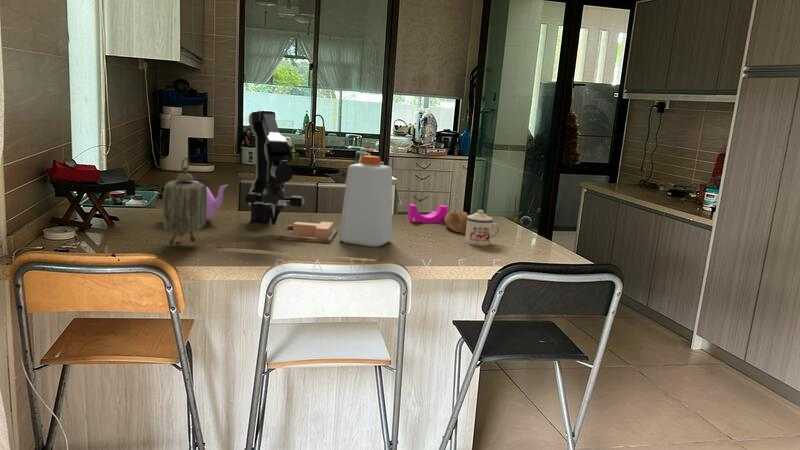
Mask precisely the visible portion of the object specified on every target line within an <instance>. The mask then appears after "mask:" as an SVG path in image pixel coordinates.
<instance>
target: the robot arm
mask: <svg viewBox="0 0 800 450" xmlns="http://www.w3.org/2000/svg"><path fill="white" fill-rule="evenodd" d="M248 124H249V125H250V131H251V133H252V134H253V136H254V137H255V139H254V140H255V143H254V145H255V179H254V180H253V182H252V184H251V188H250V189H249V192H248V193H246V194H245V195H244V203H246V204H248V205H249V206H250V207H251V209H250V210H251V211H250V220H249V223H254V224H255V223H256V224H269V223H270V222H271V225H272V226H276V225H277V222H278V220H279V218H280V215H281V212H282V211H283V209H284V208H285V207H287V206H288V204H289V205H290V206H291V207H296V208H299V207H303V206H304V205H305V202H306V201H305V197H304V196H302V195H291V196H290V197H286V189H285V184H286V183H287V182H290V181H291V179H293V176H294V171H293V168H292V167H291V166H290V165H289V164H288V163H292V162H293V161H292V160H293V153H292V149H291V147H290V143H288V141H287V139H286V137H285V136H284V135H282V134H281V133H280V129H279V127H278V124H277V120H276V112H275V111H274V110H272V109H260V110H258V111H252V112H251V113H249V115H248Z"/></svg>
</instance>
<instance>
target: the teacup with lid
mask: <svg viewBox="0 0 800 450" xmlns="http://www.w3.org/2000/svg"><path fill="white" fill-rule="evenodd" d="M468 215H469V216H467V226H466V233H465V237H464V243H466V244H468V245H472V246H479V247H480V246H482V247H483V246H485V247H486V246H490V244H491V239H492V238H493V239H494V238H496V237H498V236H499V234H500V232H501V227H500V225H499V224H498V223H495V222H494V219H493V217H492V216H489V215H488V214H486V213H484V210H483V209H478V210H477V212H475V213H473V214H468ZM493 226H494V227H495V226H496V227H497V231H496V232H495V234H492V229H493Z"/></svg>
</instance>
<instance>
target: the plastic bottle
mask: <svg viewBox="0 0 800 450" xmlns="http://www.w3.org/2000/svg"><path fill="white" fill-rule="evenodd" d="M360 160H361V161H360V162H359V163H354V164H353V163H352V164H350V165H348V167H347V173H346V179H345V180H346V181H345V182H346V183H345V189H344V196H343V205H342V213H341V219H340V229H339V240H340V241H341V242H342V243H344V244H350V245H358V246H364V247H370V248H375V247H377V248H378V247H380V246H383V245H385V244H387V243H389V242H391V241H392V239H393V235H392V234H393V225H392V224H393V223H392V220H393V204H392V203H393V201H392V200H393V170H392V167H391V166H390V165H384V164H381V156H377V155H362V156H361V159H360Z"/></svg>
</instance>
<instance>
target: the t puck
mask: <svg viewBox="0 0 800 450" xmlns="http://www.w3.org/2000/svg"><path fill="white" fill-rule="evenodd" d="M292 225H293V229H292V236H300V237H312V238H325V239H327V238H328V236H329V235H330V234H331V232H332V231H333V228H334V222H331V221H320V222H319V223H313V222H301V221H294V223H293V224H292Z"/></svg>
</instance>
